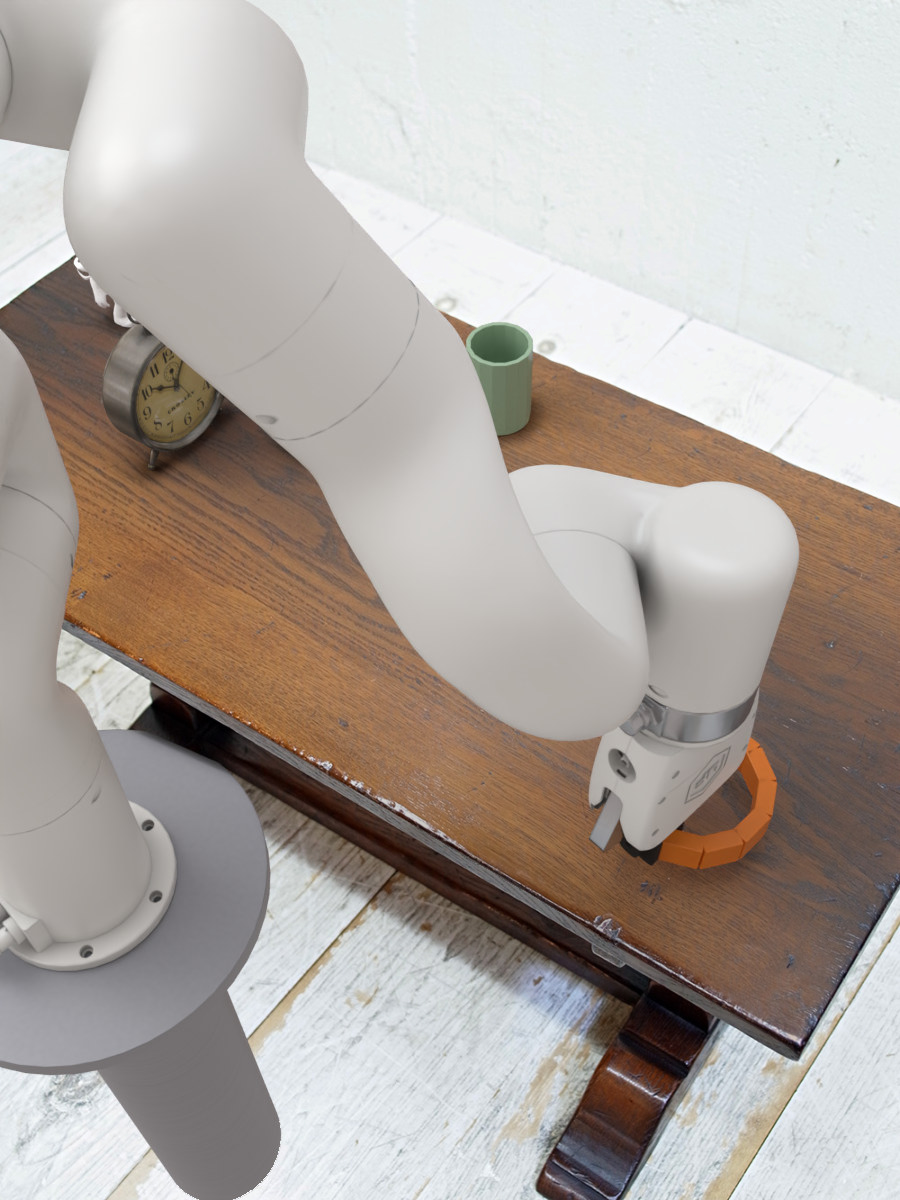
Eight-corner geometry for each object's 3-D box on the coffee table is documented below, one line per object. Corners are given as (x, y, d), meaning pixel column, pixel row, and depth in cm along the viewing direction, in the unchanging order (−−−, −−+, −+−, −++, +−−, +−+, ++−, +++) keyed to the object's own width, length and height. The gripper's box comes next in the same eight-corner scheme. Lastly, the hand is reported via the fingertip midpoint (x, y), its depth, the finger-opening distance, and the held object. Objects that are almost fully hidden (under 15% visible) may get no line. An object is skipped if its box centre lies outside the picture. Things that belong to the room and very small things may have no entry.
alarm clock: (154, 486, 110) (111, 336, 97) (110, 459, 112) (62, 310, 99) (242, 414, 115) (212, 263, 102) (199, 390, 117) (163, 239, 104)
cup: (499, 445, 112) (499, 375, 106) (454, 413, 114) (452, 343, 108) (543, 413, 114) (546, 343, 108) (498, 383, 117) (499, 313, 111)
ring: (701, 898, 82) (707, 881, 80) (580, 795, 87) (583, 776, 85) (800, 799, 86) (808, 781, 84) (680, 706, 91) (685, 687, 89)
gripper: (646, 807, 65) (610, 956, 79) (829, 636, 72) (765, 802, 86) (538, 717, 68) (522, 876, 83) (723, 562, 75) (679, 734, 90)
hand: (646, 837), depth 84 cm, fingers closed on ring, 1 cm apart
